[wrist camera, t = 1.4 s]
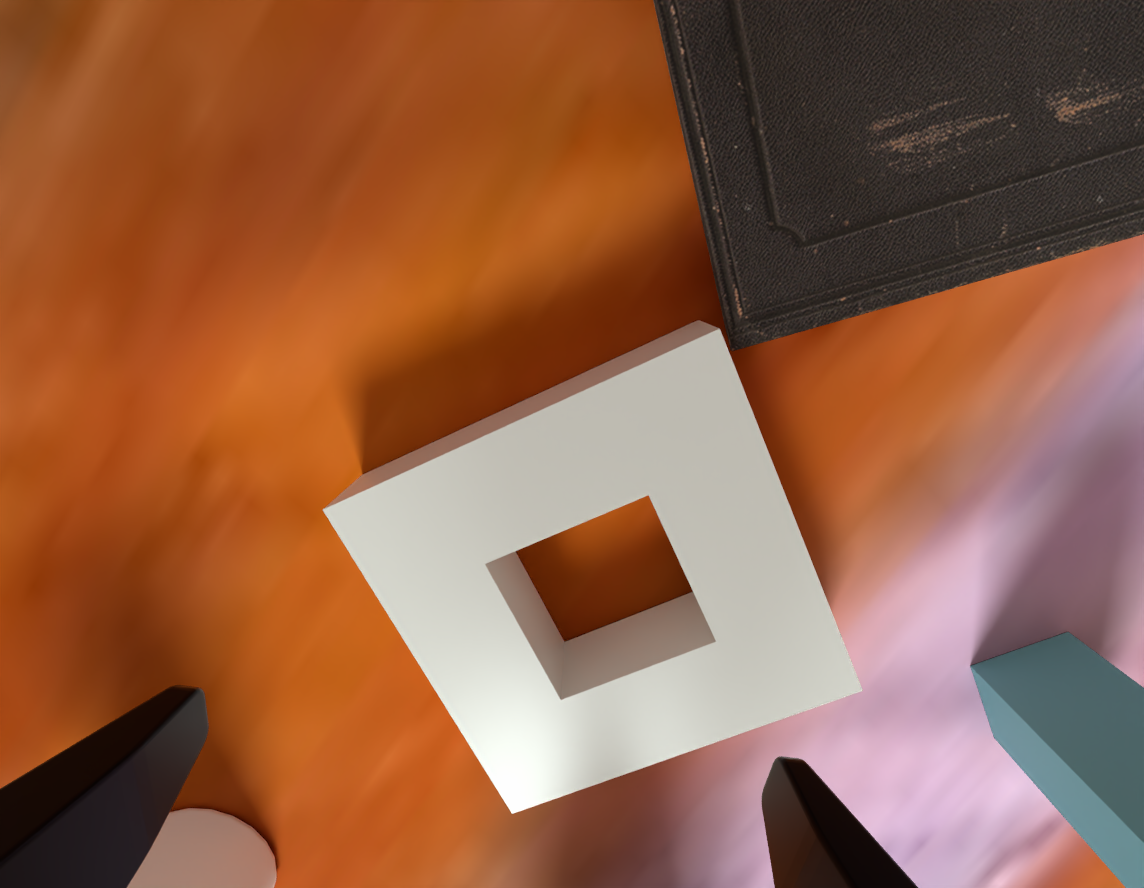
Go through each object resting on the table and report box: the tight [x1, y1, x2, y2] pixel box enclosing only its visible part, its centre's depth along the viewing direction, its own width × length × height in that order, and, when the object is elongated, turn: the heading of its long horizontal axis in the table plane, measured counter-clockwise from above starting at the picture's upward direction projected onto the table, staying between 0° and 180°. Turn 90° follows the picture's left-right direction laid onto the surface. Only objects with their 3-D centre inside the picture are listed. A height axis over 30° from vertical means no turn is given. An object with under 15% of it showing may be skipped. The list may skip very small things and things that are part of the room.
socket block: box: [323, 320, 863, 814], centre depth 22 cm, size 14×14×4 cm
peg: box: [970, 632, 1144, 888], centre depth 20 cm, size 4×4×10 cm
